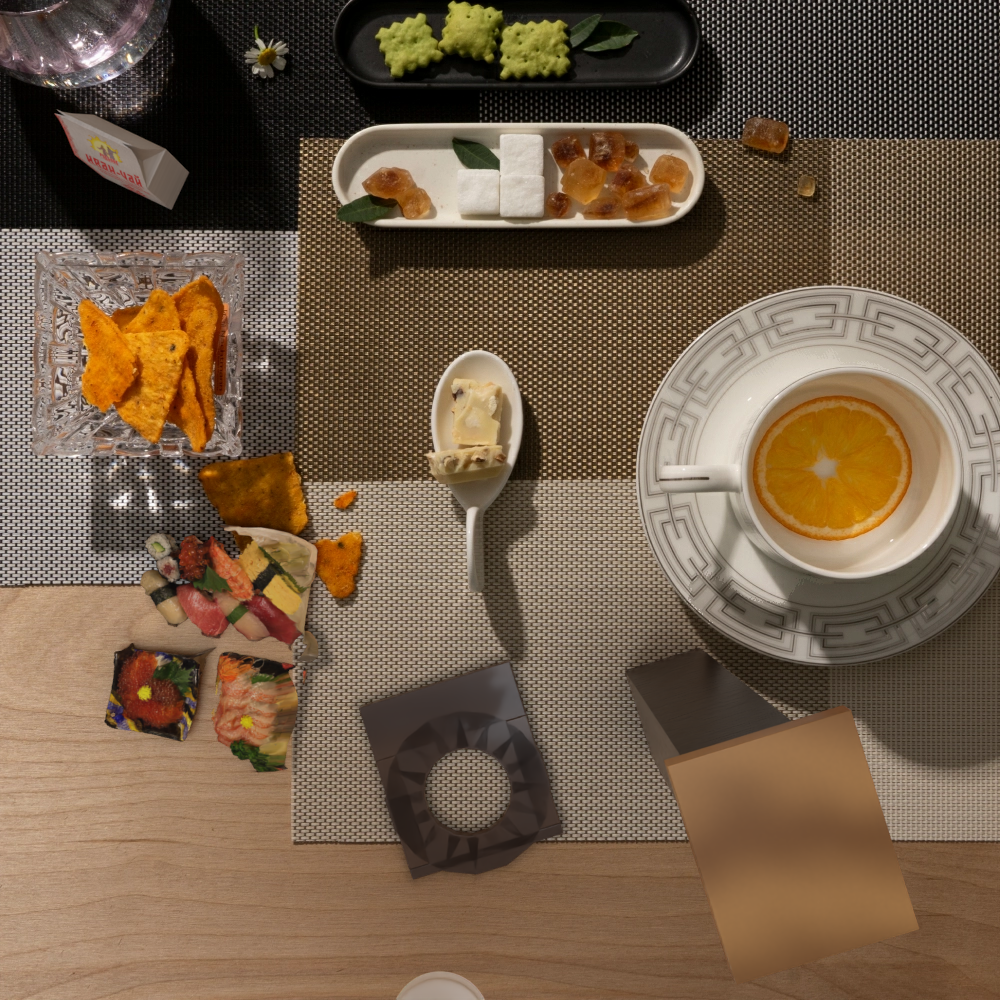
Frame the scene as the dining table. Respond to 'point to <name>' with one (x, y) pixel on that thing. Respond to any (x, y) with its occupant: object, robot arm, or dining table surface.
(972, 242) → the dining table surface
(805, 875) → the tan rectangular panel
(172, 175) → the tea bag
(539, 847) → the dining table surface
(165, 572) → the food
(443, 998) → the chess piece
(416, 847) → the board
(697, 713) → the pillar
